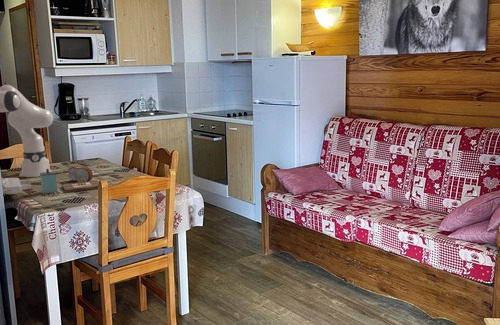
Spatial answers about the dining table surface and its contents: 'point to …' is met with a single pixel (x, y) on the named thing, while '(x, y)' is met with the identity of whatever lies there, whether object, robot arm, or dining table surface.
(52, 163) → the dining table surface
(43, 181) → the housing
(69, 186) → the pin board
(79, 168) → the tin
